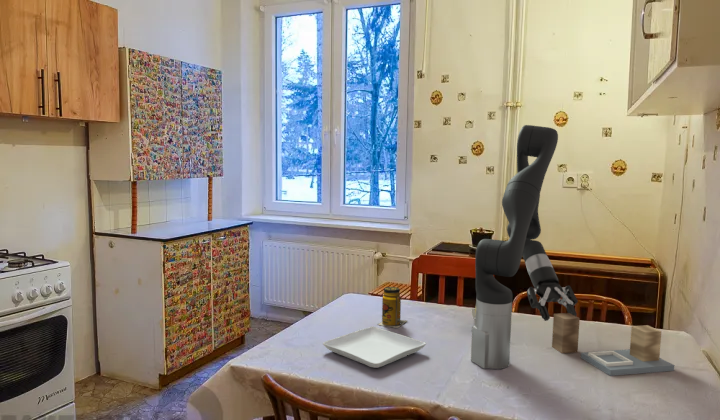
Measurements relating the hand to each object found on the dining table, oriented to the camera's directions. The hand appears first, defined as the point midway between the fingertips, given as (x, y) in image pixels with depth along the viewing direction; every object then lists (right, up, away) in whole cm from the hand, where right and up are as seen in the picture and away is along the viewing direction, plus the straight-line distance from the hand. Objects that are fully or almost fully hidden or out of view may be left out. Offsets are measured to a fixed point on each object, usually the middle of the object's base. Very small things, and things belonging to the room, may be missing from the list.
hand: (560, 318), depth 150 cm
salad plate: (-55, -9, -6) cm, 56 cm away
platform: (-20, -7, +17) cm, 28 cm away
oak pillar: (+18, -8, -11) cm, 23 cm away
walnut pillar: (0, -9, -2) cm, 9 cm away
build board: (+13, -10, -12) cm, 20 cm away
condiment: (-48, -6, +20) cm, 52 cm away
